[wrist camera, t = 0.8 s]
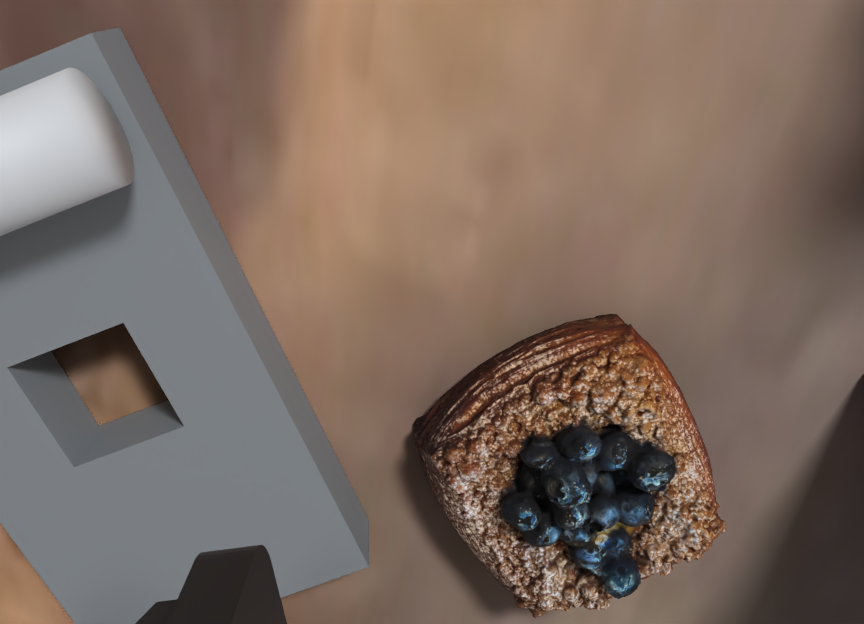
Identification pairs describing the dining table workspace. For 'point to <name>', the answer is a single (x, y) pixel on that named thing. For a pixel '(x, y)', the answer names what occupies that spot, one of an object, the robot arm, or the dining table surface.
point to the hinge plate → (162, 350)
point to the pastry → (572, 466)
